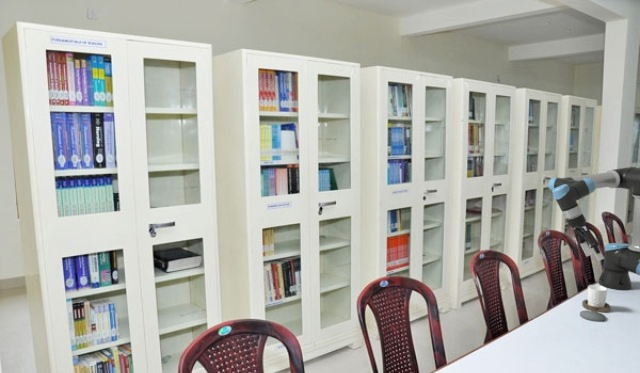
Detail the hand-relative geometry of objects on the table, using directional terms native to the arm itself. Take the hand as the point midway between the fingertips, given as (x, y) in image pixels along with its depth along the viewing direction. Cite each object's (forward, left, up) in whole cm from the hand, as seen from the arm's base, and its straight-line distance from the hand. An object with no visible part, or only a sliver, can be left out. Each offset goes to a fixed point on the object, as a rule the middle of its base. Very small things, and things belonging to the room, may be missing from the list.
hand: (595, 257), depth 220 cm
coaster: (+11, +4, -25) cm, 27 cm away
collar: (-2, +1, -25) cm, 25 cm away
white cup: (-2, +1, -25) cm, 25 cm away
